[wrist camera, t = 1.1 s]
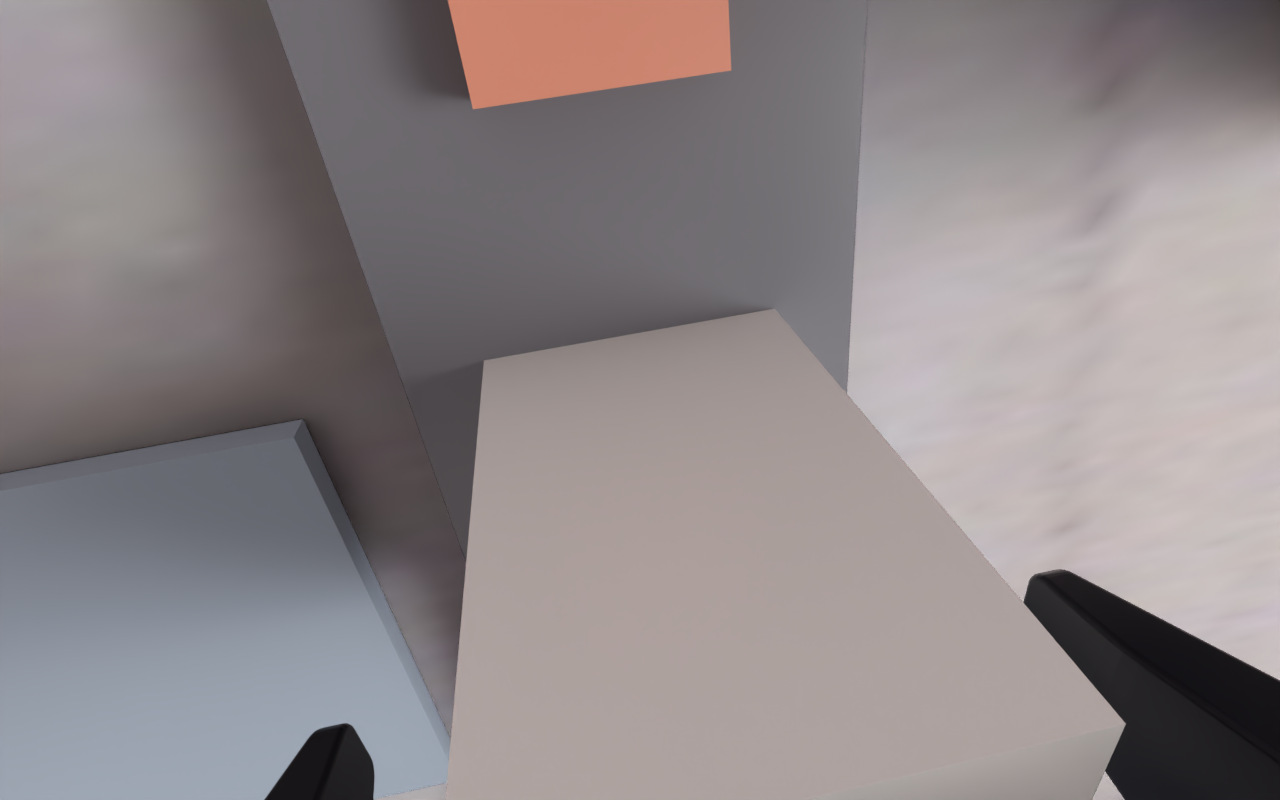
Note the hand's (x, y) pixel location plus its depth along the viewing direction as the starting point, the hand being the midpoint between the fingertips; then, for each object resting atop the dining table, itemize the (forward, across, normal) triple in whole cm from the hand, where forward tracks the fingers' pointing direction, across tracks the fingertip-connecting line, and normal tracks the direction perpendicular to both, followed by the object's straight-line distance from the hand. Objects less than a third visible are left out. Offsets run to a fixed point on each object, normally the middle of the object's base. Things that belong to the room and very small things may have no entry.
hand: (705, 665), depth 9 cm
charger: (+5, 0, 0) cm, 5 cm away
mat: (+6, +11, +4) cm, 13 cm away
